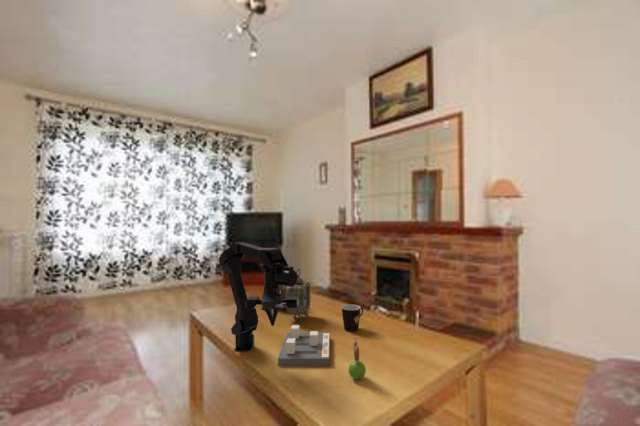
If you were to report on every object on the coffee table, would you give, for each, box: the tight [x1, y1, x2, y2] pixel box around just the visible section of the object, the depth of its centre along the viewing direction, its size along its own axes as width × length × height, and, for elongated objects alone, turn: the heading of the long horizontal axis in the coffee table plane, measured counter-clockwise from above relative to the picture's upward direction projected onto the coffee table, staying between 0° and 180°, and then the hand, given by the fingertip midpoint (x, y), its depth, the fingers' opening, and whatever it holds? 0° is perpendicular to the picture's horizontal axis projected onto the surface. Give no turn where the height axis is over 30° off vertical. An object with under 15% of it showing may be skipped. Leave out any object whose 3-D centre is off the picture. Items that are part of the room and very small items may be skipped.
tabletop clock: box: [285, 268, 311, 323], centre depth 163 cm, size 14×9×25 cm, turn 168°
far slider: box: [290, 324, 301, 338], centre depth 133 cm, size 3×4×4 cm
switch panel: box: [277, 332, 331, 367], centre depth 126 cm, size 18×24×3 cm
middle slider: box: [309, 330, 319, 346], centre depth 126 cm, size 3×4×4 cm
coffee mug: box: [341, 304, 364, 333], centre depth 148 cm, size 12×9×10 cm
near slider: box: [286, 338, 296, 354], centre depth 119 cm, size 3×4×4 cm
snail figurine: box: [348, 336, 367, 380], centre depth 105 cm, size 5×6×12 cm
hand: (272, 325), depth 120 cm, fingers closed
